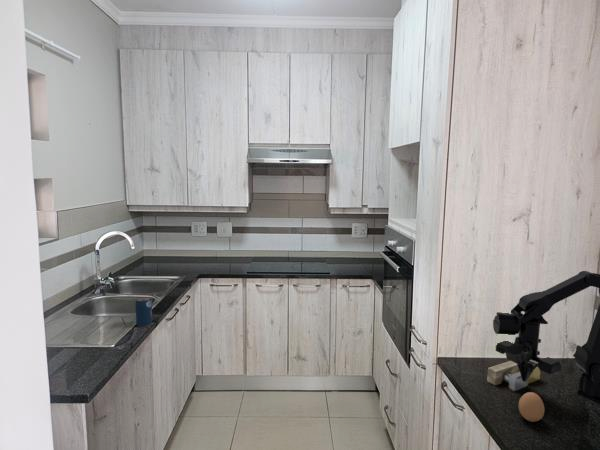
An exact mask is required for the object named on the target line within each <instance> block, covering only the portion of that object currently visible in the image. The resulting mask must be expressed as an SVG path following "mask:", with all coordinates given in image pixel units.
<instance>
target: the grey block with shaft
mask: <svg viewBox="0 0 600 450" xmlns="http://www.w3.org/2000/svg"><path fill="white" fill-rule="evenodd" d="M502 382H505V383H507V384H508V389H509V390H510V391H512V392H516V391H519V390H522V389H524V388H526V387H528V385H529V384H528V380H527V381H526V382H524V381H523V380H522V377H521V374H520V371H518V372H517V373H515V374H512V375H511V374H509V373H507V372H504V373H502Z"/></svg>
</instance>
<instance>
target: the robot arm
mask: <svg viewBox="0 0 600 450" xmlns="http://www.w3.org/2000/svg"><path fill="white" fill-rule="evenodd" d="M589 287H594V288H597V289H598V294H599V297H600V274H599V273H596V272H591V271H588V270H582V271H579V272H578V273H577V274H575V275H574V276H572V277H569V278H567V279H566V280H564V281H561V282H560V283H558V284H555V285H553V286H551V287H549V288H548V289H545V290H542V291H537V292H531V293H528V294H524V295H523V296H521V297H520V298H519V300H518V303H516V305H515V306H514V307H513V308H512V309H511V314H509V313H502V311H501V312H500V311H497V312H496V315H495V316H494V319H493V320H492V325H493V326H492V327H493V331H494V333H495V334H496V335H497V334H508V335H513V336H515V335H517V336H515V339H514V343H513V342H512V343H511V342H509V341H503V342H500V343H497V345H496V344H495V352H497V353H499V354H502V355H504V354H505V358H506V360H508V361H512V362H515V363H516V364H517V365H518V371H519V372H520V374H521V377H522V380H523V381H524V382H526V381H527V380H528V378H529V377H530V375H531V374H532V372H533V371H534V369H535V368H536V367H538V368H539V369H540V372H541V371H542V372H543V373H547V374H549V375H552V374H555V373H557V372H560V371H562V364H561V362H560V361H559V360H557V359H554V358H551V357H544V358H542V357H540V356H539V355H540V354H541V351H540V350H539V344H540V343H542V339H541V338H540V331H541V325H548V324H549V323H548V321H547V320H546V319H545V318H544V315H546V313H548V312H549V311H550V310H551V309H552V307H553V306H554V305H556V304H558V303H559V302H561V301H563V300H566V299H567V298H569V297H571V296H574V295H576V294H578V293H579V292H582V291H585V290H587V289H588V288H589ZM598 304H599V305H598V307H597V310H596V313H595V316H594V319H593V322H592V325H591V327H590V331H589V334H588V338H587V340H586V342H585V343H584V344H583V345H579V344H578V345H576V349H575V352H574V353H573V355H572V357H574V358H573V361H574V362H575V364H576V366H577V367H578V369H579V371H580V372H582V373H581V376H580V377H579V378H578V379H579V380H578V388H577V389H578V390H577V391H576V393H577V394H578V395H581V396H583V397H585V398H588V399H589V400H592V401H594V402H597V403H600V303H598ZM522 312H523V313H522Z"/></svg>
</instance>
